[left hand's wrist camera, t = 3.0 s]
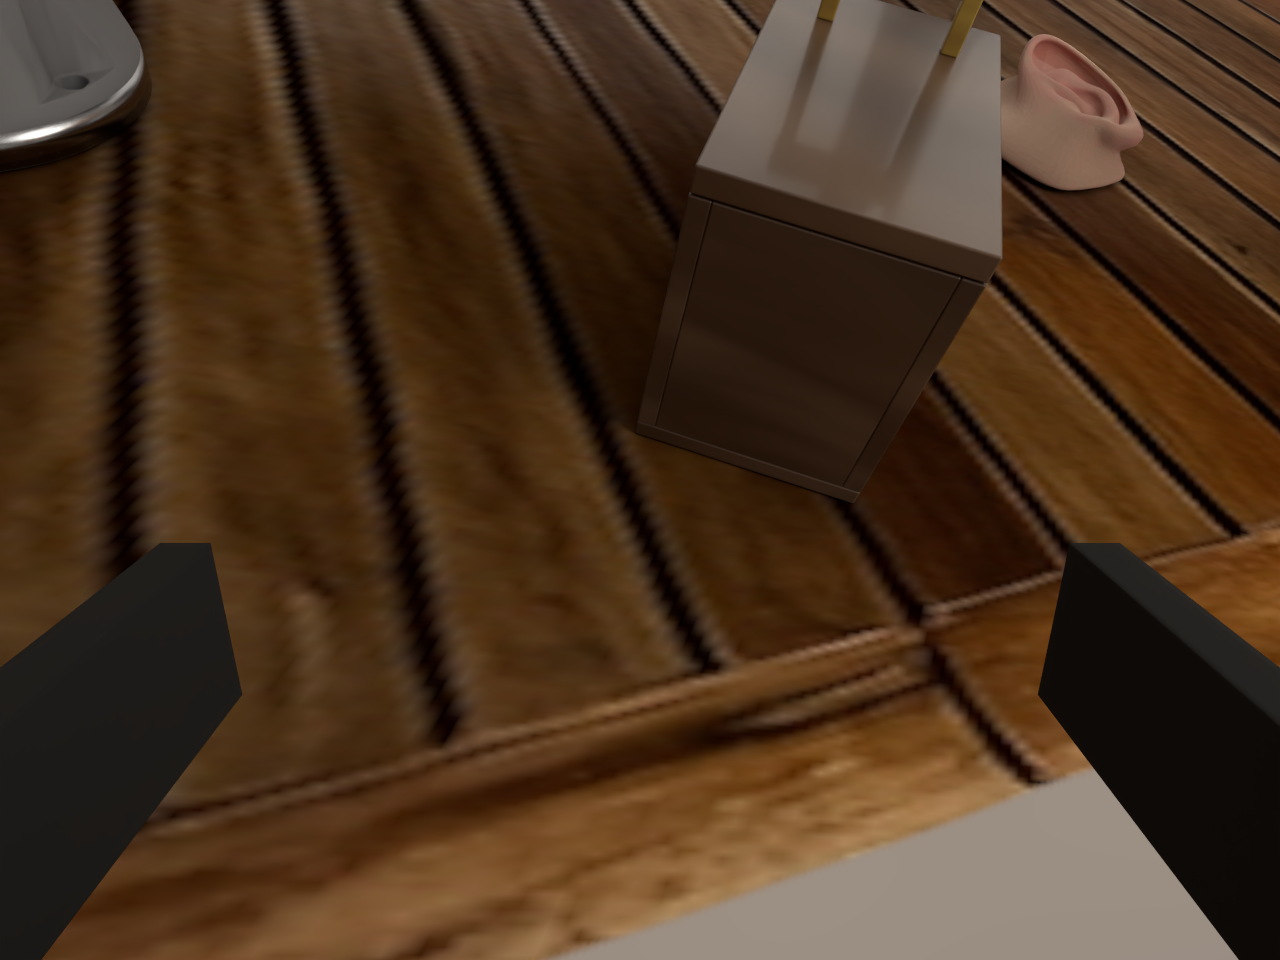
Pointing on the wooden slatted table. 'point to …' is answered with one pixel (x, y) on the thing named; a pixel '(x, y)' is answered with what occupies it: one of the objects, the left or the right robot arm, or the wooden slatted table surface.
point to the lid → (868, 131)
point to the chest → (793, 347)
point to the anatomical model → (1065, 118)
